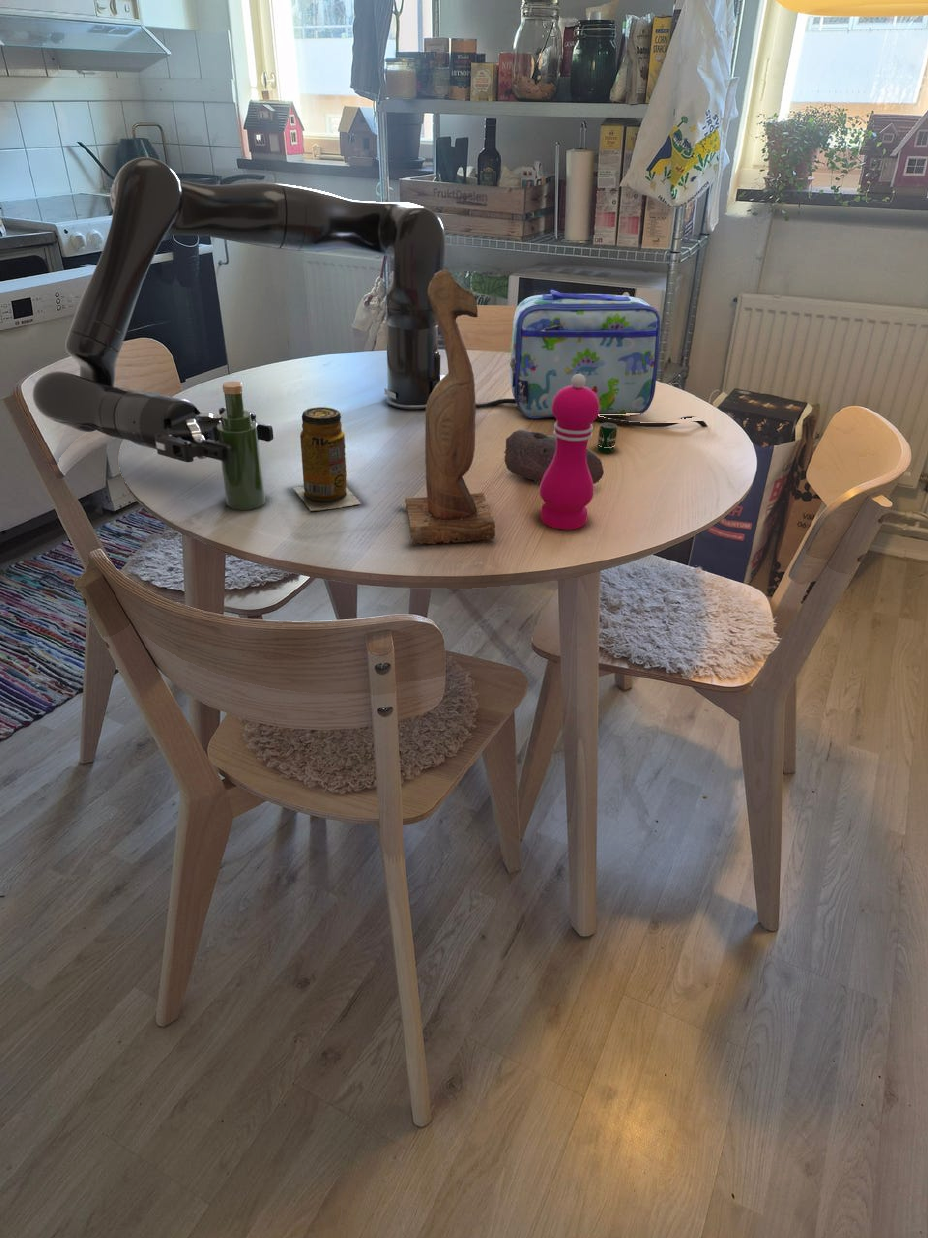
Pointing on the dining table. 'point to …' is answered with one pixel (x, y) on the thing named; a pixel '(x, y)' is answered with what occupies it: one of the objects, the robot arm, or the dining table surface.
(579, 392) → the pepper mill
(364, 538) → the dining table surface
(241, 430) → the oil bottle
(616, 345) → the lunch box
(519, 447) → the perforated stone tool
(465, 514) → the bird sculpture
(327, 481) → the condiment
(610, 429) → the beer can
